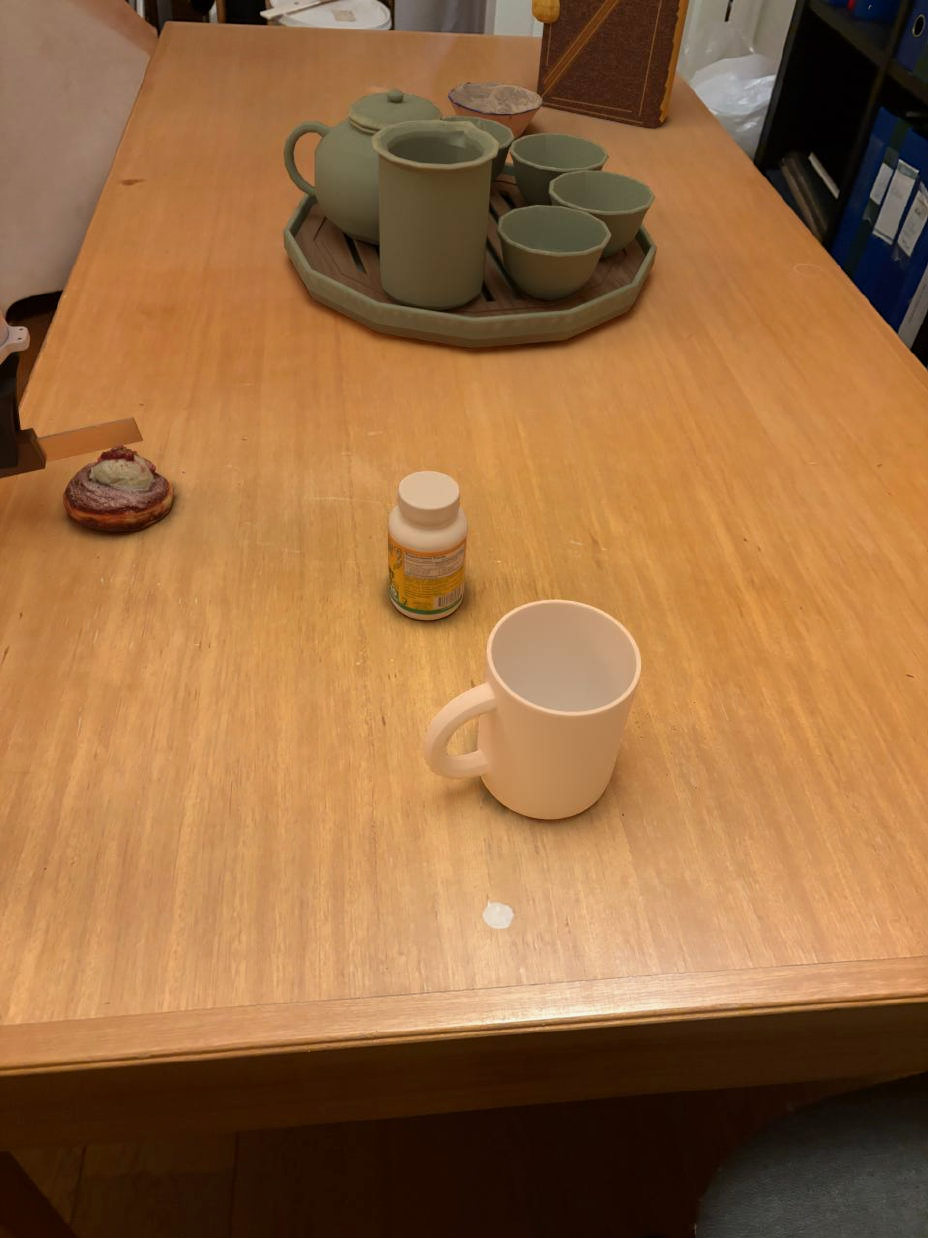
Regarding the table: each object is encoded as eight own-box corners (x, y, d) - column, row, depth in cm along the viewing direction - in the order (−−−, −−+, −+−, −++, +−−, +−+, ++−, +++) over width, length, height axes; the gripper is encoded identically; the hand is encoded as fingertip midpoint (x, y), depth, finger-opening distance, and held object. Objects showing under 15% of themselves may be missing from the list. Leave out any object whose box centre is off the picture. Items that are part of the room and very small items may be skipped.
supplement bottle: (457, 627, 64) (463, 521, 57) (381, 616, 65) (378, 510, 58) (468, 575, 68) (476, 469, 61) (396, 565, 68) (396, 458, 62)
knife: (-26, 484, 66) (-42, 457, 64) (-23, 469, 67) (-39, 442, 66) (143, 447, 67) (131, 420, 66) (142, 433, 68) (131, 405, 67)
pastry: (186, 481, 74) (175, 428, 70) (156, 543, 69) (142, 490, 65) (87, 471, 74) (71, 418, 71) (50, 533, 69) (30, 479, 65)
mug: (445, 862, 52) (452, 754, 44) (398, 747, 57) (398, 633, 50) (634, 801, 55) (670, 691, 48) (574, 698, 61) (598, 585, 53)
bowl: (430, 135, 129) (431, 97, 125) (472, 110, 137) (474, 73, 134) (515, 156, 125) (518, 117, 122) (552, 128, 133) (556, 91, 130)
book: (671, 115, 140) (712, -91, 122) (655, 132, 135) (694, -82, 117) (536, 87, 146) (556, -114, 128) (515, 102, 140) (532, -105, 122)
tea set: (708, 334, 94) (752, 164, 83) (314, 369, 86) (300, 186, 74) (579, 179, 121) (598, 34, 109) (268, 195, 112) (252, 40, 101)
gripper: (-5, 327, 52) (58, 513, 62) (15, 218, 62) (67, 394, 72) (-143, 337, 51) (-56, 526, 61) (-101, 223, 60) (-31, 403, 70)
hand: (4, 455), depth 66 cm, fingers closed on knife, 2 cm apart
